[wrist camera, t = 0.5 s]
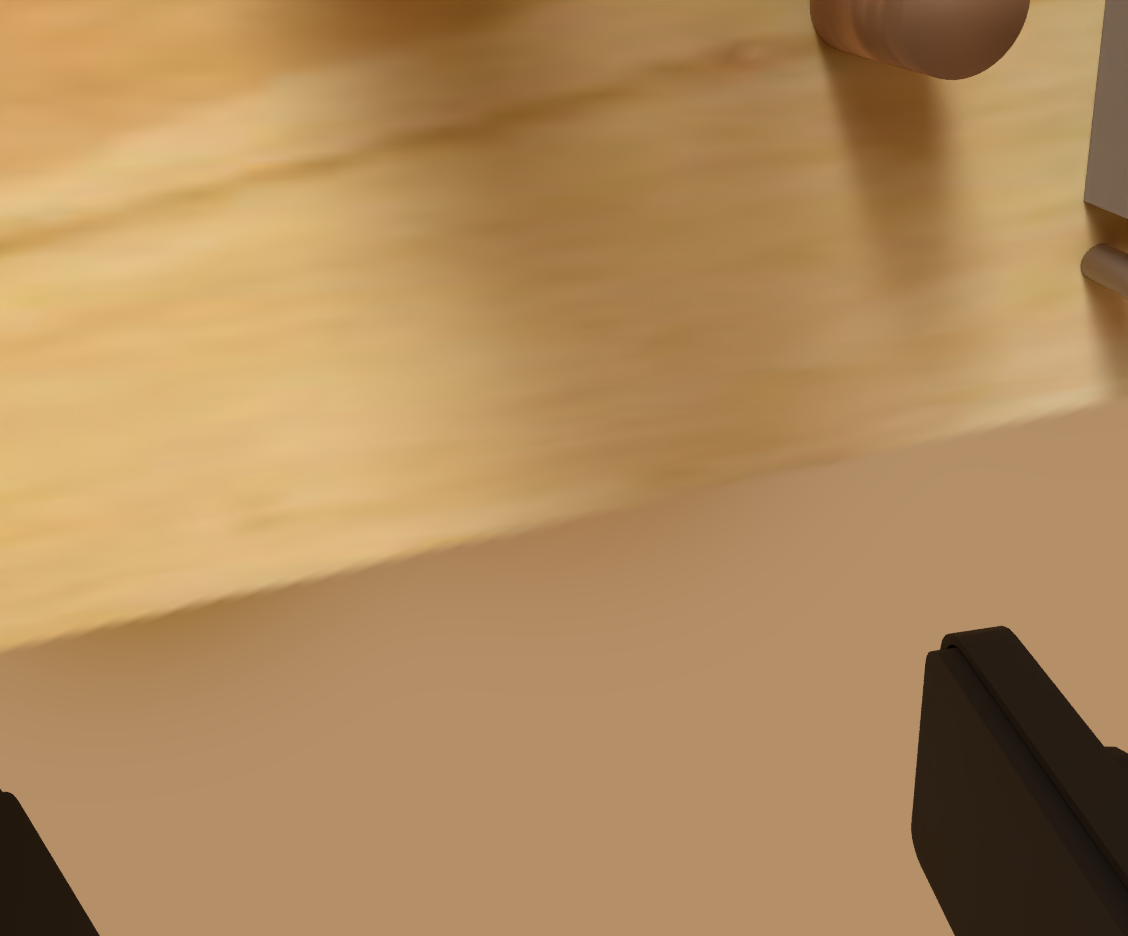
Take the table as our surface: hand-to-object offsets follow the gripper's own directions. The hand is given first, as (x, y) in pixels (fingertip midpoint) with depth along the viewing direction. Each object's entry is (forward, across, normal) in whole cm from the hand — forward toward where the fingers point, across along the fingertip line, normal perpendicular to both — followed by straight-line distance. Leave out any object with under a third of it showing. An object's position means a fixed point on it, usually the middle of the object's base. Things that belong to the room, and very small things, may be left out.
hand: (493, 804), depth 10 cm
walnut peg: (+33, -16, -4) cm, 37 cm away
